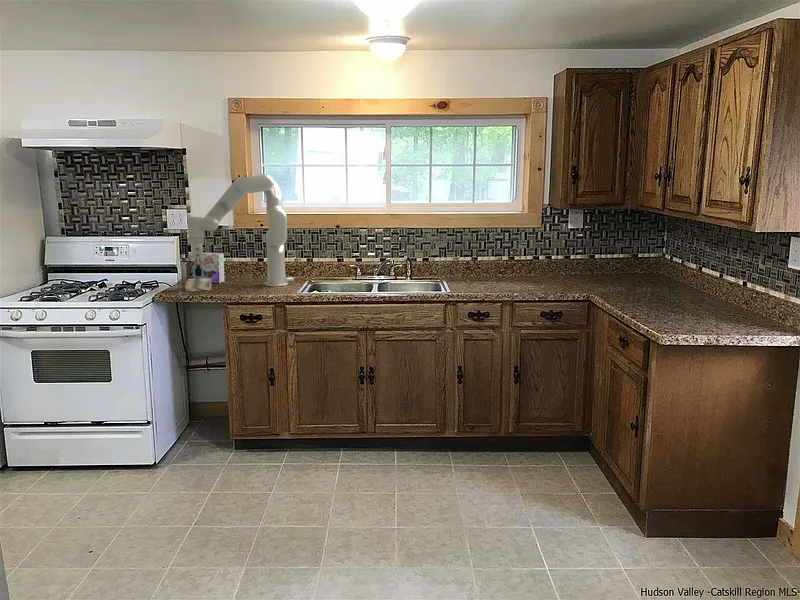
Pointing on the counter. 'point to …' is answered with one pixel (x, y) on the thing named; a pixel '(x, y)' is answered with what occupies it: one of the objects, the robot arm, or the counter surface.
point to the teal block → (194, 271)
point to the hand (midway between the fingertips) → (198, 274)
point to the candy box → (213, 267)
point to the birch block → (198, 284)
